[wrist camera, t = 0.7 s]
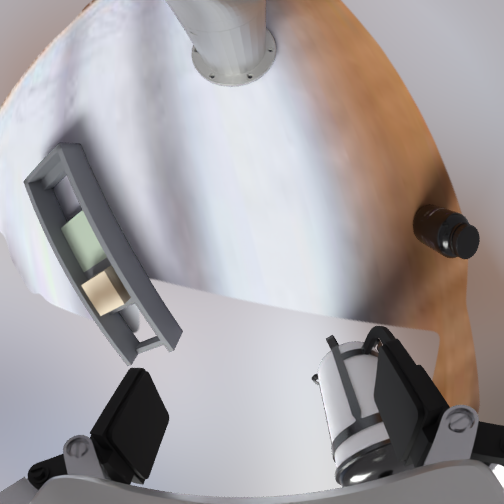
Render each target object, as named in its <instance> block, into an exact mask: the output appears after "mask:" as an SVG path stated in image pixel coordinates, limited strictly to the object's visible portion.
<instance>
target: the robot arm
mask: <svg viewBox="0 0 504 504" xmlns="http://www.w3.org/2000/svg"><path fill="white" fill-rule="evenodd" d="M165 1H166V2H167V4H168V5H169V7H170V8H171V9H172V11H173V12H174V14H175V15H176V17H177V19H178V20H179V22H180V23H181V25H182V27H183V28H184V30H185V31H186V33H187V35H188V36H189V38H190V40H191V41H192V43H193V47H192V61H193V64H194V66H195V68H196V70H197V71H198V72H199V73H200V74H201V76H202V77H204V78H205V79H206V80H208V81H210V82H212V83H214V84H217V85H221V86H230V87H232V86H241V85H245V84H249V83H251V82H254V81H256V80H257V79H259V78H261V77H262V76H263V75H264V74H265V73H266V72H267V71H268V70H269V69H270V67H271V66H272V64H273V62H274V59H275V55H276V45H275V41H274V38H273V36H272V34H271V33H270V32H269V30H268V29H266V0H165ZM197 51H198V52H197ZM269 51H272V52H269ZM212 76H214V78H212ZM250 76H251V77H252V78H250V79H249V77H250ZM374 401H375V403H376V406H377V408H378V411H379V413H380V416H381V418H382V421H383V423H384V426H385V428H386V431H387V433H388V436H389V438H390V441H391V444H392V446H393V449H394V451H395V454H396V457H397V459H398V461H399V462H400V461H403V464H404V466H405V467H406V466H408V465H411V464H413V465H414V467H415V468H414V469H411V470H408V471H404V472H401V473H397V474H394V475H391V476H387V477H384V478H380V479H377V480H373V481H369V482H365V483H360V484H356V485H352V486H347V487H342V488H337V489H332V490H326V491H320V492H313V493H306V494H297V495H287V496H274V497H211V496H198V495H187V494H178V493H172V492H165V491H159V490H153V489H147V488H142V487H137V486H132V485H130V484H131V482H134V483H138V484H144V481H145V479H148V477H149V475H150V472H151V470H152V467H153V464H154V461H155V458H156V455H157V453H158V450H159V447H160V444H161V441H162V439H163V436H164V433H165V430H166V427H167V425H168V422H169V414H168V412H167V410H166V408H165V406H164V404H163V402H162V400H161V398H160V396H159V394H158V392H157V390H156V387H155V385H154V383H153V381H152V378H151V376H150V374H149V373H148V372H147V371H145V369H143V368H130V369H129V370H128V372H127V374H126V375H125V377H124V378H123V380H122V381H121V383H120V385H119V386H118V388H117V389H116V391H115V393H114V394H113V396H112V397H111V399H110V401H109V402H108V404H107V405H106V407H105V409H104V410H103V412H102V414H101V415H100V417H99V419H98V420H97V422H96V423H95V425H94V427H93V428H92V430H91V432H90V434H91V437H90V438H89V437H87V436H84V435H77V436H74V437H72V438H70V439H69V440H68V441H67V442H66V443H65V445H64V448H63V454H62V455H59V456H56V457H53V458H51V459H48V460H45V461H42V462H39V463H37V464H35V465H33V466H32V467H31V468H30V470H29V472H28V479H27V478H25V477H24V478H22V479H20V480H19V481H17V482H16V483H14V484H13V485H11V486H9V487H8V488H6V489H5V490H3V491H1V492H0V504H504V426H501V425H496V424H490V423H485V422H480V421H479V418H478V415H477V413H476V411H475V410H474V409H472V408H471V407H469V406H466V405H456V406H453V407H451V408H450V407H449V405H448V404H447V402H446V401H445V399H444V398H443V396H442V395H441V393H440V392H439V390H438V389H437V387H436V386H435V384H434V383H433V381H432V380H431V378H430V377H429V376H428V374H427V373H426V371H425V370H424V368H423V367H422V366H421V365H416V364H415V362H414V361H413V359H412V358H411V357H410V355H409V354H408V352H407V351H406V349H405V348H404V347H403V345H402V344H401V342H400V341H399V340H398V339H393V340H389V341H385V342H383V346H380V347H379V352H378V362H377V371H376V380H375V387H374Z"/></svg>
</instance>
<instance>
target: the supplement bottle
mask: <svg viewBox="0 0 504 504" xmlns="http://www.w3.org/2000/svg"><path fill="white" fill-rule="evenodd" d="M413 230H414V234H415V236H416V238H417V239H418V240H419V241H420V242H422V243H423V244H425V245H427V246H428V247H430V248H432V249H433V250H435V251H437V252H438V253H440V254H442V255H443V256H445V257H447V258H455V257H460V258H462V259H468V258H470V257H472V256H473V255H474V254H475V253H476V251H477V248H478V245H479V233H478V231H477V229H476V228H475V227H474V226H472V225H470V224H469V223H468V220H467V219H466V218H465V217H464V216H463V215H462V214H460V213H457V212H454V211H451V210H448V209H445V208H442V207H439V206H435V205H426V206H423V207H422V208H421V209H420V210H419V211H418V212H417V213H416V215H415V218H414V222H413Z"/></svg>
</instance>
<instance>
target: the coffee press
mask: <svg viewBox="0 0 504 504" xmlns="http://www.w3.org/2000/svg"><path fill="white" fill-rule="evenodd" d="M378 338H379V339H378ZM393 339H395V337H394V336H393V334H392V333H391V332H390V331H389V329H387V328H386V327H384V326H375V327H373V328H372V329H371V330H370V332H369V334H368V335H367V338H366V340H365V342H348V343H345V344H342V345H338V343H337V341H336V339H335V338H334V336H333V335H331V336H330V337H328V338H326V340H327V342H328V344H329V346H330V348H331V351H330V352H329V353H328V354H327V355H326V356H325V357H324V358H323V359H322V361H321V363H320V365H319V368H318V374H315V375H314V376H313V377H312V380H313V381H314V382H315V383H316V384H317V385H319V386H320V391H321V395H322V400H323V404H324V409H325V414H326V419H327V423H328V428H329V434H330V438H331V444H332V447H331V449H332V455H333V459H334V462H335V463H336V467H337V469H336V472H335V478H336V481H337V483H339V484H340V485H342V486H343V487H347V486H352V485H356V484H360V483H365V482H369V481H373V480H377V479H380V478H384V477H387V476H391V475H394V474H397V473H401V472H404V471H408V470H411V469H414V468H415V467H414V465H413V464H411V465H408V466H406V467H405V466H404V464H403V461H400V462H399V461H398V459H397V457H396V454H395V451H394V449H393V446H392V444H391V441H390V438H389V436H388V433H387V431H386V428H385V426H384V423H383V421H382V418H381V416H380V413H379V411H378V408H377V406H376V403H375V401H374V387H375V380H376V371H377V362H378V352H379V347H380V346H382V344H383V342H385V341H389V340H393ZM380 340H381V341H380ZM381 342H382V343H381ZM377 344H378V346H377V350H378V352H377V351H376V349H375V346H376V345H377ZM317 379H319V382H317V381H316V380H317Z"/></svg>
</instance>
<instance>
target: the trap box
mask: <svg viewBox="0 0 504 504" xmlns="http://www.w3.org/2000/svg"><path fill="white" fill-rule="evenodd" d="M66 175H67V177H68V179H69V181H70V184H71V186H72V188H73V190H74V193H75V195H76V197H77V199H78V201H79V204H80V206H81V208H82V211H81V212H80V213H78V214H77V215H76V216H75V217H73V218H72V219H71V220H70V221H69V222H68V223H67V221H66V218H65V216H64V214H63V212H62V210H61V208H60V205H59V203H58V201H57V198H56V196H55V194H54V191H53V188H54V187H55V186H56V185H57V184H58V183H59V182H60V181H61V180H62V179H63V178H64V177H65V176H66ZM24 184H25V187H26V190H27V192H28V195H29V198H30V200H31V203H32V205H33V208H34V210H35V212H36V215H37V217H38V219H39V222H40V224H41V226H42V228H43V231H44V233H45V235H46V237H47V239H48V241H49V243H50V245H51V247H52V249H53V251H54V253H55V255H56V257H57V259H58V261H59V263H60V265H61V267H62V268H63V270H64V272H65V274H66V276H67V277H68V279H69V281H70V283H71V284H72V286H73V288H74V289H75V291H76V293H77V294H78V296H79V298H80V299H81V301H82V303H83V304H84V306H85V307H86V309H87V310H88V312H89V314H90V315H91V317H92V318H93V320H94V321H95V323H96V324H97V325H98V327H99V328H100V330H101V331H102V333H103V334H104V335H105V337H106V338H107V340H108V341H109V342H110V344H111V345H112V346H113V348H114V349H115V350H116V352H117V353H118V354H119V356H120V357H121V358H122V360H123V361H124V362H125V363H126V364H127V366H129V365H132V363H133V361H134V359H135V358H136V356H137V355H138V354H139V353H142V352H145V351H148V350H150V349H153V348H156V347H159V346H161V345H164V346H165V347H166V349H167V350H168V351H169V352H171V351H174V349H175V347H176V345H177V343H178V341H179V339H180V336H181V334H182V332H183V331H182V329H181V328H180V326H179V325H178V323H177V322H176V320H175V319H174V317H173V316H172V314H171V313H170V311H169V310H168V308H167V307H166V305H165V304H164V302H163V301H162V299H161V298H160V296H159V294H158V293H157V291H156V289H155V288H154V286H153V285H152V283H151V281H150V280H149V278H148V276H147V275H146V273H145V271H144V270H143V268H142V266H141V265H140V263H139V261H138V259H137V258H136V256H135V254H134V252H133V251H132V249H131V247H130V245H129V244H128V242H127V240H126V238H125V236H124V234H123V233H122V231H121V229H120V227H119V225H118V223H117V221H116V219H115V217H114V215H113V214H112V212H111V210H110V208H109V206H108V204H107V202H106V200H105V198H104V195H103V193H102V191H101V189H100V187H99V185H98V183H97V181H96V179H95V176H94V174H93V172H92V170H91V168H90V165H89V163H88V161H87V158H86V156H85V154H84V151H83V149H82V147H81V144H74V143H59V144H58V145H57V146H56V147H55V148H54V149H53V150H52V151H51V152H50V153H49V154H48V155H47V156H46V157H45V158H44V159H43V160H42V161H41V162H40V163H39V164H38V166H37V167H36V168H35V169H34V170H33V171H32V172H31V173H30V175H29V176H28V177H27V178H26V179H25V180H24ZM111 265H112V267H113V268H114V270H115V272H116V273H117V275H118V277H119V278H120V280H121V282H122V283H123V285H124V287H125V288H126V290H127V291H128V293H129V295H130V296H131V298H130V299H129V300H128V301H127V302H126V303H125V304H124V305H122V306H120V307H118V308H116V309H114V310H112V311H110V312H108V313H106V314H104V315H102V316H100V314H99V313H98V311H97V310H96V308H95V307H94V305H93V304H92V302H91V301H90V299H89V297H88V296H87V294H86V292H85V291H84V289H83V287H82V286H81V285H82V284H84V283H85V282H86V281H88V280H89V279H91V278H92V277H93V276H95V275H97V274H98V273H100V272H101V271H103V270H105V269H106V268H108V267H109V266H111ZM134 303H135V304H136V306H137V307H138V309H139V310H140V312H141V313H142V314H143V316H144V318H145V319H146V321H147V322H148V323H149V325H150V326H151V328H152V329H153V331H154V332H155V333H156V335H157V336H156V337H153V338H151V339H148V340H145V341H143V342H139V341H138V340H137V338H136V337H135V335H134V334H133V333H132V331H131V330H130V328H129V327H128V325H127V324H126V323H125V321H124V320H123V318H122V317H121V315H120V314H119V312H118V311H120V310H122V309H124V308H126V307H128V306H130V305H132V304H134Z"/></svg>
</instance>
